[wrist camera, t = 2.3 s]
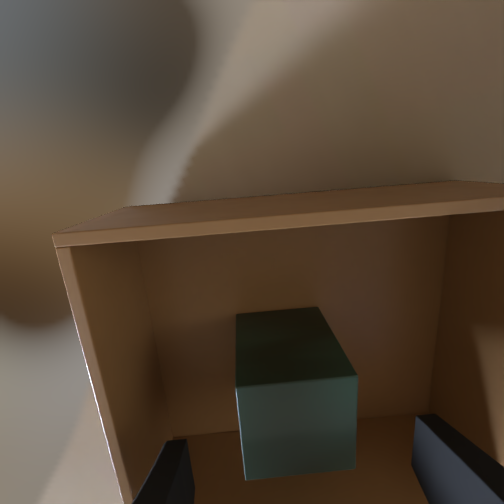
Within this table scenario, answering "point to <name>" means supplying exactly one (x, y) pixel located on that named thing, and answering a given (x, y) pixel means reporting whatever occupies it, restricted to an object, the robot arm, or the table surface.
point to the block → (293, 395)
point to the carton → (292, 297)
